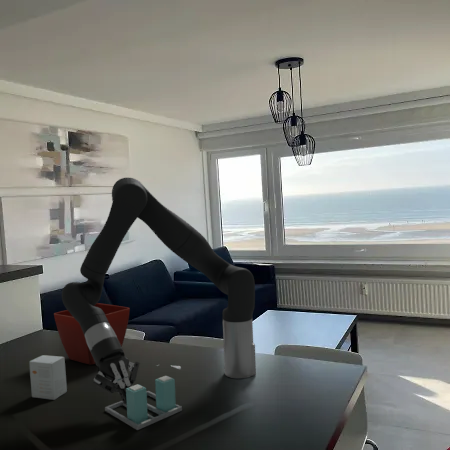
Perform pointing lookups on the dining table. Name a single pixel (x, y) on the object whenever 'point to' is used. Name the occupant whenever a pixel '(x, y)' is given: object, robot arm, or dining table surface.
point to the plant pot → (75, 337)
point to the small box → (48, 377)
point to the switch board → (150, 418)
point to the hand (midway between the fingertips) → (130, 403)
